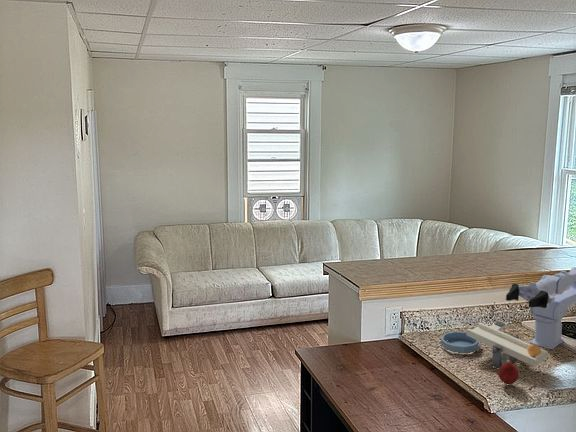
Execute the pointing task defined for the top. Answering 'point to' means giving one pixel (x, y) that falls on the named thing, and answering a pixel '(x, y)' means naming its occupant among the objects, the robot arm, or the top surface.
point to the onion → (508, 373)
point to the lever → (505, 342)
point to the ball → (533, 350)
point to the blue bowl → (459, 342)
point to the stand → (497, 357)
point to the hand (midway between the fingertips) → (518, 300)
